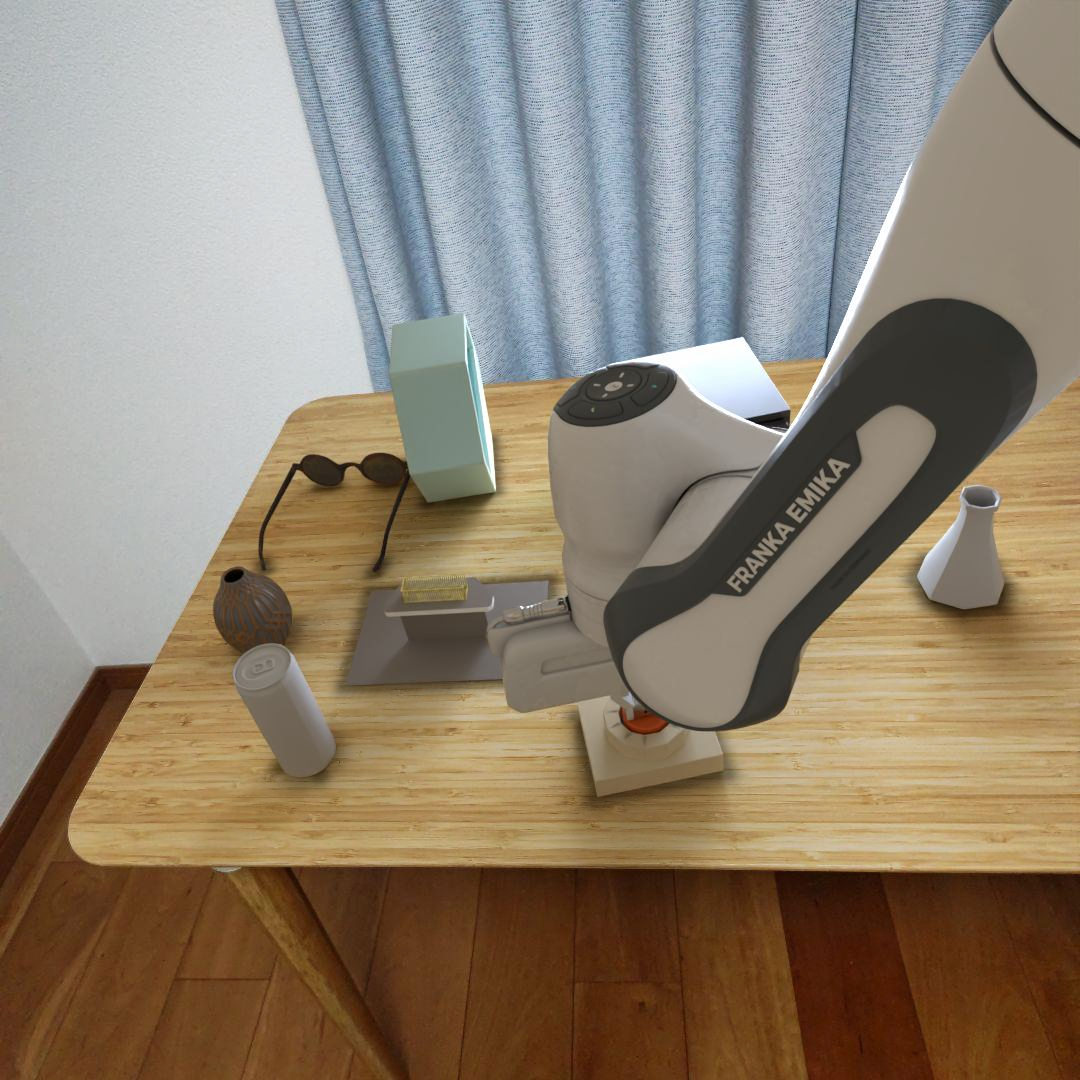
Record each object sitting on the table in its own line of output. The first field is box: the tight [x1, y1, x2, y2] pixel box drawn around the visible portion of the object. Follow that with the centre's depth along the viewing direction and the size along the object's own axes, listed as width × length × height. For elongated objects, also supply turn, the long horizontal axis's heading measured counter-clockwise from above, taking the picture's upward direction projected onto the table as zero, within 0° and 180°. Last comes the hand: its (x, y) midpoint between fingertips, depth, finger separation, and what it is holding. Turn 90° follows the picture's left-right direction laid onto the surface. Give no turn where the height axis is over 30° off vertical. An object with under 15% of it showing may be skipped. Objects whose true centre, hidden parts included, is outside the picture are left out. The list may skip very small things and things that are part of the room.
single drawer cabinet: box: [629, 336, 792, 429], centre depth 95 cm, size 15×13×10 cm
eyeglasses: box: [257, 452, 412, 573], centre depth 97 cm, size 15×15×5 cm
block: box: [576, 696, 724, 798], centre depth 71 cm, size 10×8×4 cm
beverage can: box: [232, 643, 337, 778], centre depth 72 cm, size 5×5×12 cm
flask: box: [916, 484, 1005, 610], centre depth 77 cm, size 7×7×10 cm
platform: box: [345, 573, 550, 687], centre depth 82 cm, size 12×18×7 cm, turn 87°
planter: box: [388, 312, 497, 503], centre depth 97 cm, size 17×8×21 cm
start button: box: [622, 708, 670, 735], centre depth 70 cm, size 4×4×2 cm
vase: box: [212, 565, 293, 654], centre depth 84 cm, size 7×7×9 cm
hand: (643, 710), depth 70 cm, fingers closed, pressing on start button
